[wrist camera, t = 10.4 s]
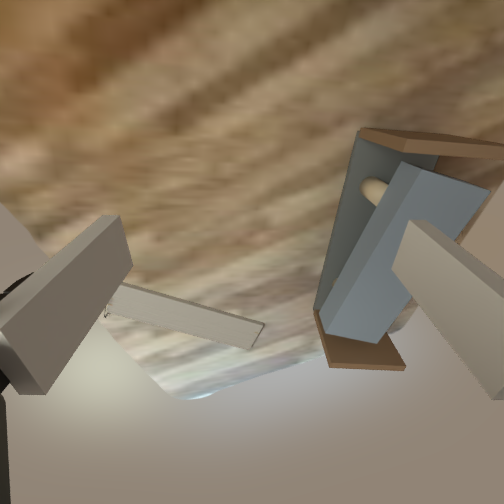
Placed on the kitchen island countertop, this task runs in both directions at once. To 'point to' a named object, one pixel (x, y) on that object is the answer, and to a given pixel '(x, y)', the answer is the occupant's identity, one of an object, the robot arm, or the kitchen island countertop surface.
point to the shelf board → (394, 250)
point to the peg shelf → (360, 211)
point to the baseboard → (183, 316)
